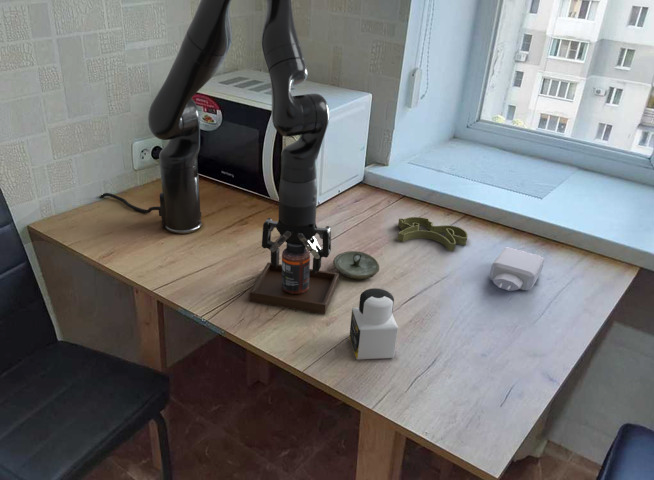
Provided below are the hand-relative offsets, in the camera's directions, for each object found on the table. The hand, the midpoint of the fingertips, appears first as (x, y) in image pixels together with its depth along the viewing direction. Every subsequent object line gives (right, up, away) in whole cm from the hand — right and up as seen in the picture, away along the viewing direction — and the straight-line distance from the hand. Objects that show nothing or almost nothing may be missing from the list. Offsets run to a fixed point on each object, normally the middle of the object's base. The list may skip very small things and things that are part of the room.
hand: (295, 268), depth 129 cm
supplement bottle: (0, -4, +3) cm, 5 cm away
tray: (0, -5, +3) cm, 6 cm away
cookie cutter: (+35, +9, +26) cm, 45 cm away
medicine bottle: (+14, -16, -14) cm, 25 cm away
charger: (+48, -3, +7) cm, 49 cm away
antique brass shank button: (+14, 0, +11) cm, 18 cm away
